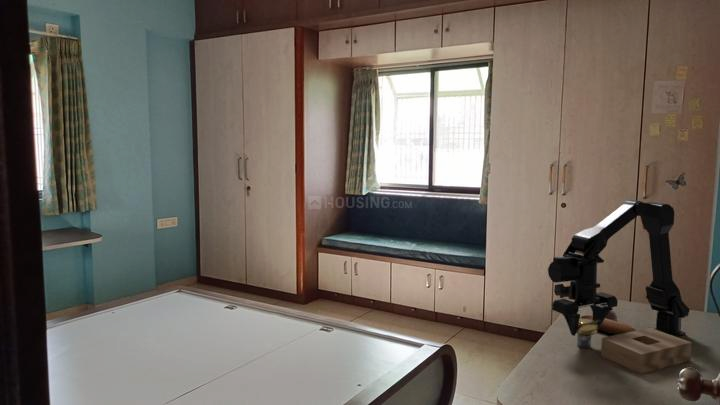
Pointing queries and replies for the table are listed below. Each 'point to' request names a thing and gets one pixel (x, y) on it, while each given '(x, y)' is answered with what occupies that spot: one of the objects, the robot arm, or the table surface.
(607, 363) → the table surface
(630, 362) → the socket block
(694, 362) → the table surface
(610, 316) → the pale lilac cylinder
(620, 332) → the sunglasses case
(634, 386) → the table surface
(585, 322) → the gold shiny rounded part
